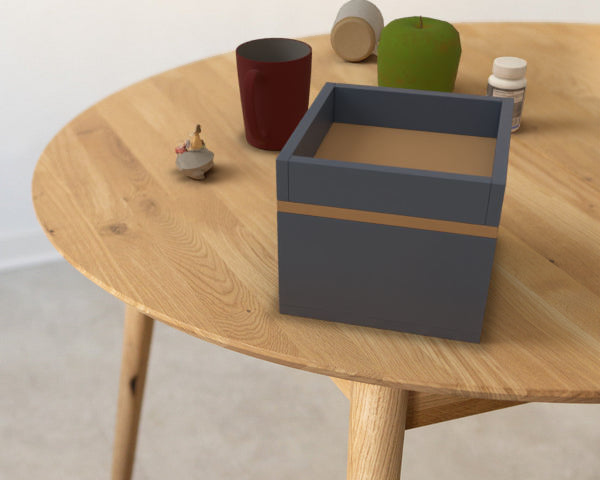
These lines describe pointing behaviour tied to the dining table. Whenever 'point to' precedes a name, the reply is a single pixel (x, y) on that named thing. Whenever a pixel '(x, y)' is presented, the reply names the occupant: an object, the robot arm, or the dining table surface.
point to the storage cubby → (393, 208)
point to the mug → (273, 88)
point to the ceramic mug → (357, 30)
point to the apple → (418, 54)
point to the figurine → (194, 156)
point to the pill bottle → (509, 84)
